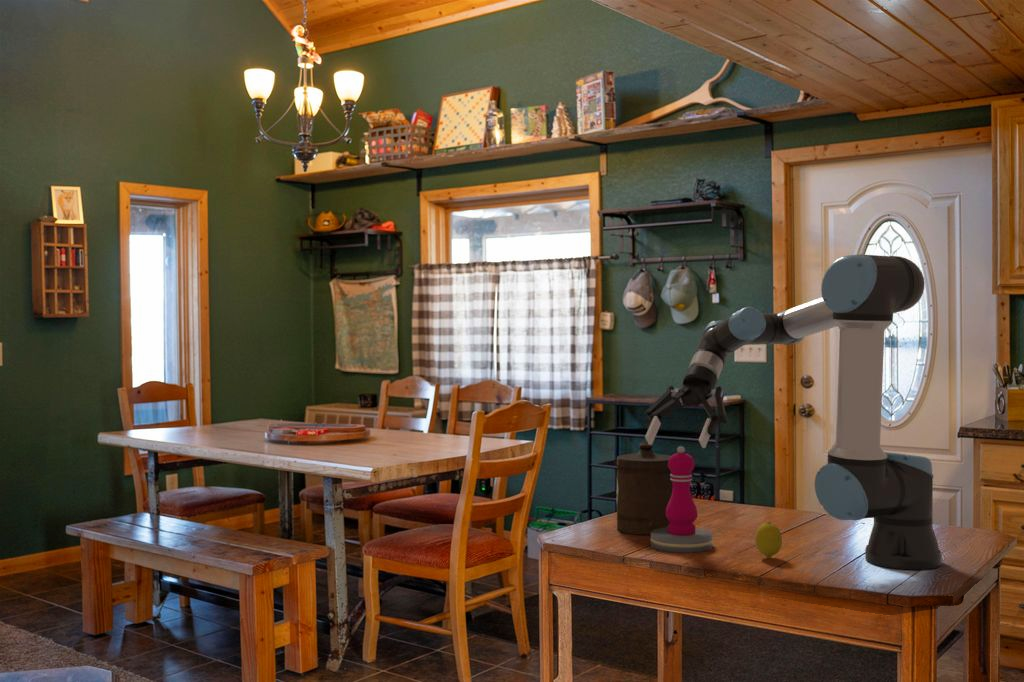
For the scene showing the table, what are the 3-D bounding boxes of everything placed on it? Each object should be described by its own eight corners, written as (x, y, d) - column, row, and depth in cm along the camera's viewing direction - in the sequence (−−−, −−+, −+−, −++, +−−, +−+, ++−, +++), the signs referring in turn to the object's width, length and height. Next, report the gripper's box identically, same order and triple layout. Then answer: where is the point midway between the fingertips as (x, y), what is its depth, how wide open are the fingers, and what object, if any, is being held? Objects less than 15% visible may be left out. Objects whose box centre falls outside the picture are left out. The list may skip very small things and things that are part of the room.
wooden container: (643, 521, 256) (643, 436, 255) (688, 529, 244) (688, 441, 244) (604, 529, 246) (603, 441, 246) (649, 538, 235) (649, 446, 234)
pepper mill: (696, 529, 229) (695, 444, 229) (699, 536, 222) (698, 448, 222) (665, 529, 230) (664, 444, 229) (666, 535, 222) (666, 448, 222)
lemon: (781, 556, 215) (781, 519, 215) (781, 561, 210) (781, 524, 209) (756, 554, 216) (755, 518, 216) (755, 560, 211) (755, 523, 211)
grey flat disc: (724, 549, 222) (724, 536, 222) (670, 555, 217) (670, 541, 217) (691, 537, 235) (691, 524, 235) (639, 542, 230) (639, 529, 230)
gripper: (756, 385, 231) (730, 456, 219) (662, 384, 246) (632, 449, 234) (747, 363, 226) (720, 434, 214) (651, 363, 241) (621, 429, 229)
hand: (674, 442), depth 224 cm, fingers open, 13 cm apart
